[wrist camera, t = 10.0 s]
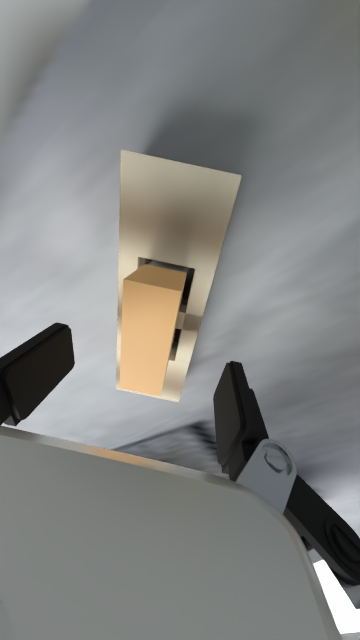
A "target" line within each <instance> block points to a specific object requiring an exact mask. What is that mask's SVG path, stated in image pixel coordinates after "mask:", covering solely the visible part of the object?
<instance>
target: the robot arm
mask: <svg viewBox="0 0 360 640" xmlns="http://www.w3.org/2000/svg"><path fill="white" fill-rule="evenodd" d="M74 364H75V361H74V352H73V343H72V334H71V329H70V328H69V326H68V325H66V324H61V323H54V324H53V325H51V326H50V327H48V328H47V329H45V330H43V331H42V332H40V333H39V334H37V335H35V336H34V337H32V338H31V339H29V340H28V341H26V342H24V343H23V344H21V345H20V346H18V347H17V348H15V349H13V350H12V351H10V352H9V353H7V354H6V355H4V356H2V357H1V358H0V425H1V424H2V423H3V422H4V423H5V424H7V425H12V426H16V425H17V424H18V423H19V422H20V421H21V420H24V419H26V418H27V417H28V416H29V415H30V414H31V413H32V412H33V411H34V409H35V408H36V407H37V406H38V405H39V404H40V403H41V402H42V401H43V400H44V399H45V398H46V397H47V395H48V394H49V393H50V392H51V391H52V390H53V389H54V388H55V387H56V386H57V385H58V384H59V383H60V381H61V380H62V379H63V378H64V377H65V376H66V375H67V374H68V373H69V372H70V371H71V370H72V368H73V367H74ZM213 401H214V414H215V428H216V442H217V455H218V463H219V464H221V465H222V473H226V474H229V477H230V480H229V479H226V478H222V477H219V476H216V475H213V474H209V473H205V472H201V471H197V470H193V469H189V468H185V467H181V466H177V465H173V464H169V463H165V462H160V461H156V460H152V459H147V458H143V457H139V456H134V455H130V454H126V453H121V452H117V451H112V450H108V449H103V448H99V447H95V446H90V445H86V444H81V443H77V442H72V441H68V440H63V439H59V438H54V437H50V436H45V435H40V434H36V433H31V432H27V431H22V430H18V429H13V428H8V427H4V426H0V640H360V538H359V537H358V535H357V534H356V533H355V531H354V530H353V529H352V528H351V527H350V526H349V525H348V524H347V523H346V522H345V521H344V520H343V519H342V518H341V517H340V516H339V515H338V514H337V513H336V512H335V511H334V510H333V509H332V508H331V507H330V506H329V505H328V504H327V503H326V502H325V501H324V500H323V499H322V498H321V497H320V496H319V495H318V494H317V493H316V492H315V491H314V490H313V489H312V488H311V487H310V486H309V485H308V484H307V483H306V482H305V481H304V480H302V479H301V478H300V477H299V476H298V475H297V474H296V473H297V468H296V463H295V461H294V459H293V457H292V456H291V454H290V453H289V451H288V450H287V449H286V448H285V447H284V446H283V445H281V444H280V443H279V442H277V441H275V440H272V439H269V437H268V434H267V431H266V428H265V425H264V421H263V418H262V415H261V412H260V409H259V406H258V403H257V400H256V397H255V394H254V391H253V390H252V389H250V388H249V386H248V383H247V380H246V376H245V373H244V370H243V366H242V364H241V363H239V362H235V361H230V363H226V366H225V368H224V371H223V373H222V376H221V378H220V381H219V383H218V386H217V388H216V391H215V393H214V398H213Z"/></svg>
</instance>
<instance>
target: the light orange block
mask: <svg viewBox="0 0 360 640" xmlns="http://www.w3.org/2000/svg"><path fill="white" fill-rule="evenodd" d="M187 271H188V267H185V266H180V265H175V264H171V263H166V262H161V261H156V260H153V261H151V262H150V263H149V264H148V265H147V264H144V265H143V266H141V267H140V268H138V269H137V270H136V271H134V272H133V273H131V274H130V275H128V276H127V277H126V278H124V279H123V299H122V328H121V358H120V388H123V389H128V390H133V391H137V392H142V393H147V394H152V395H156V396H161V392H162V388H163V384H164V379H165V375H166V370H167V366H168V361H169V357H170V352H171V348H172V343H173V339H174V334H175V330H176V328H175V327H176V322H177V317H178V313H179V308H180V303H181V299H182V295H183V291H184V286H185V281H186V276H187Z"/></svg>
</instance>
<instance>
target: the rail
mask: <svg viewBox="0 0 360 640" xmlns="http://www.w3.org/2000/svg"><path fill="white" fill-rule="evenodd" d="M241 177H242V175H238V174H233V173H228V172H224V171H219V170H214V169H210V168H205V167H200V166H196V165H191V164H186V163H182V162H177V161H172V160H168V159H163V158H158V157H154V156H149V155H145V154H140V153H135V152H131V151H126V150H121V171H120V220H119V269H118V319H117V368H116V389H118V390H123V391H128V392H132V393H137V394H142V395H147V396H151V397H156V398H161V399H166V400H171V401H175V402H179V399H180V395H181V392H182V388H183V384H184V381H185V377H186V374H187V370H188V367H189V363H190V359H191V356H192V352H193V349H194V345H195V342H196V338H197V334H198V331H199V327H200V324H201V320H202V317H203V313H204V309H205V306H206V302H207V299H208V295H209V292H210V288H211V284H212V281H213V277H214V274H215V270H216V267H217V263H218V259H219V256H220V252H221V249H222V245H223V242H224V238H225V234H226V231H227V227H228V224H229V220H230V217H231V213H232V209H233V206H234V202H235V199H236V195H237V192H238V188H239V184H240V181H241ZM148 259H152V260H156V261H161V262H166V263H171V264H175V265H180V266H185V267H189V268H194V273H193V278H192V282H191V287H190V291H189V296H188V300H187V299H183V298H182V299H181V303H180V308H179V313H178V317H177V322H176V327H175V328H177V329H181V332H180V336H179V341H178V343H176V342H173V343H172V348H171V352H170V357H169V361H168V366H167V370H166V375H165V379H164V384H163V388H162V392H161V396H156V395H152V394H147V393H142V392H137V391H133V390H128V389H123V388H120V358H121V328H122V299H123V279H124V278H126V277H127V276H128V275H130V274H131V273H133V272H134V271H136V270H137V269H138V268H140V267H141V266H143V265H144V264H147V262H148Z"/></svg>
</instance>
